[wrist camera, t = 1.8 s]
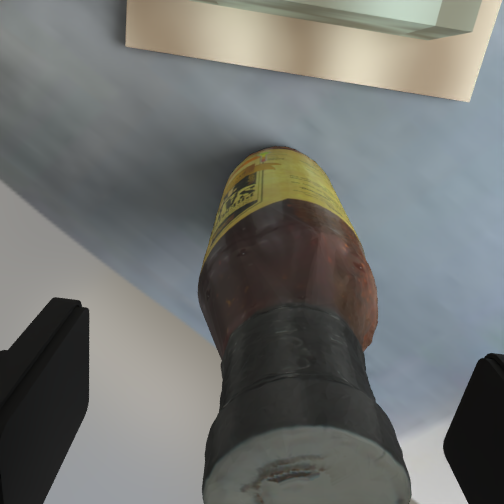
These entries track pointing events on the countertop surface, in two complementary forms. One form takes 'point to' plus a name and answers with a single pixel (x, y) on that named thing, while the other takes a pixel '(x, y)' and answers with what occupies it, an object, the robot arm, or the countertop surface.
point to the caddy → (329, 38)
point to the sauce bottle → (293, 345)
